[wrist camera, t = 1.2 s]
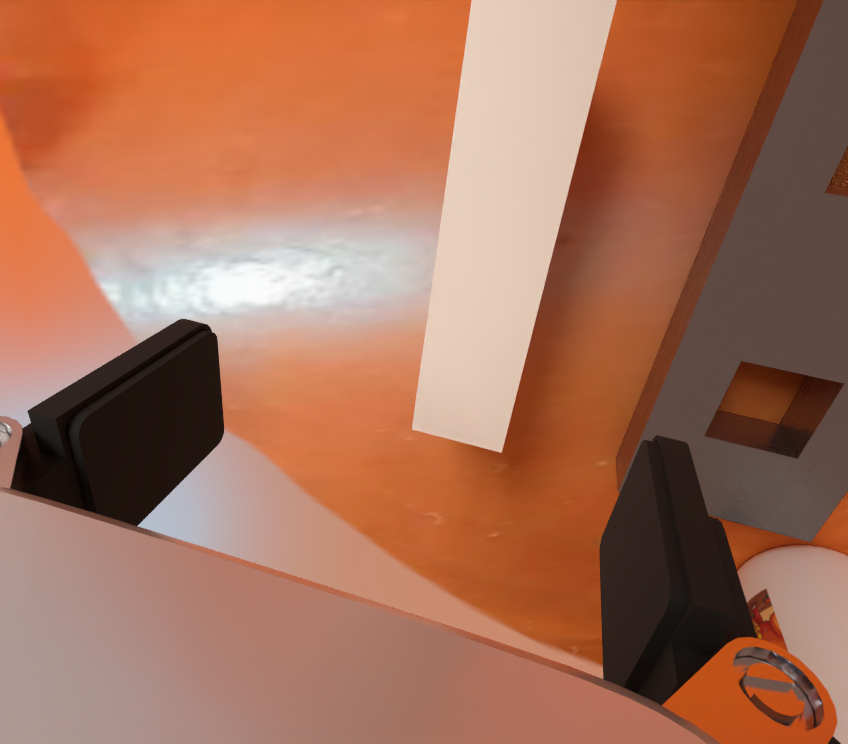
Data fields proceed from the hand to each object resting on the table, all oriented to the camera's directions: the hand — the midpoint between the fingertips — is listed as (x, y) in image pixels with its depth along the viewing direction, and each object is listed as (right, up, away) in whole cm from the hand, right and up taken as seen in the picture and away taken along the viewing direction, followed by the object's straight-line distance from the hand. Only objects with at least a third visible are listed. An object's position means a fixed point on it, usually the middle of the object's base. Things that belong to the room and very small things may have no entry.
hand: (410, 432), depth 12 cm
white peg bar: (+5, +9, +16) cm, 19 cm away
